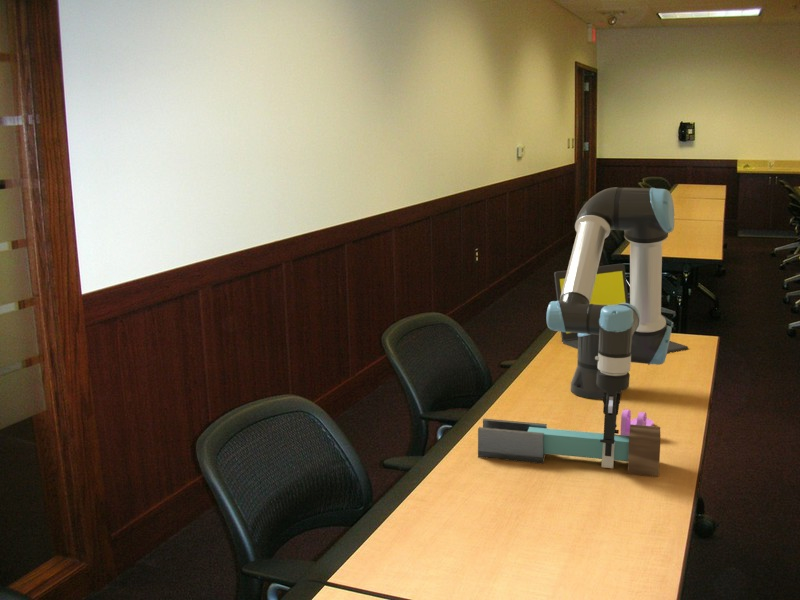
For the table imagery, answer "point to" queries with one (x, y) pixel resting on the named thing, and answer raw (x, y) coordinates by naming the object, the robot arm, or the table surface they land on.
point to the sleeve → (511, 441)
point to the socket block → (644, 450)
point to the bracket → (633, 421)
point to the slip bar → (580, 443)
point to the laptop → (604, 296)
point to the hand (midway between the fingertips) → (608, 462)
